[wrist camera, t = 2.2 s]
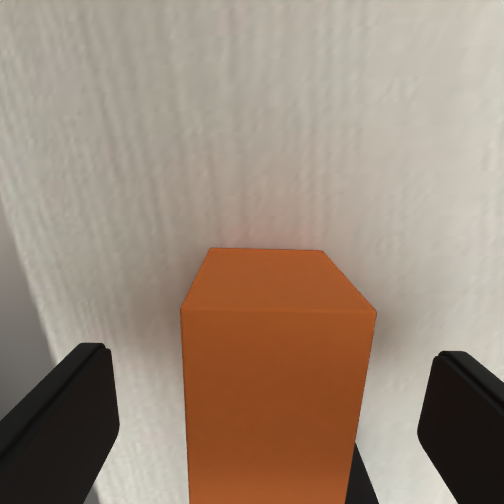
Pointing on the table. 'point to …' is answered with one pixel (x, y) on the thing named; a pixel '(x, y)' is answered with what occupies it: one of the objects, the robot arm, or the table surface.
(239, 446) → the orange block
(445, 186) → the table surface
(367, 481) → the black block
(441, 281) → the table surface
